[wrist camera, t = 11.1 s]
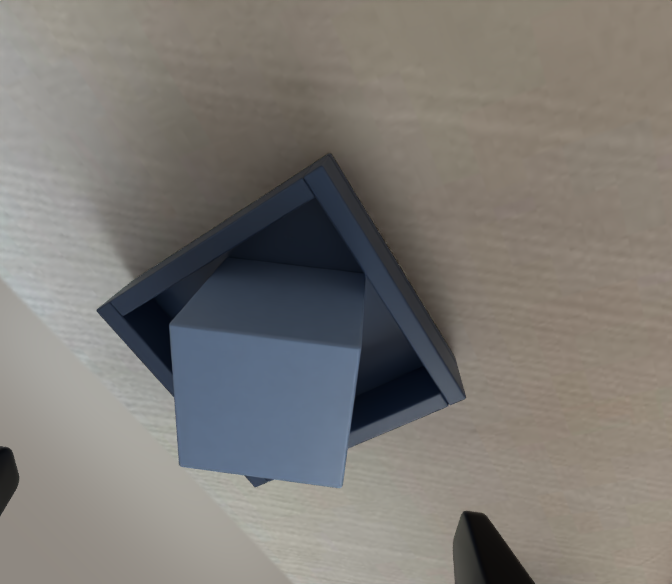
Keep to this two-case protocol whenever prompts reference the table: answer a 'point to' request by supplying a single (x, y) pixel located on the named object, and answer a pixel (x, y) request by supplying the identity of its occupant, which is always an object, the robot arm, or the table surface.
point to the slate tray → (318, 252)
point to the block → (268, 371)
